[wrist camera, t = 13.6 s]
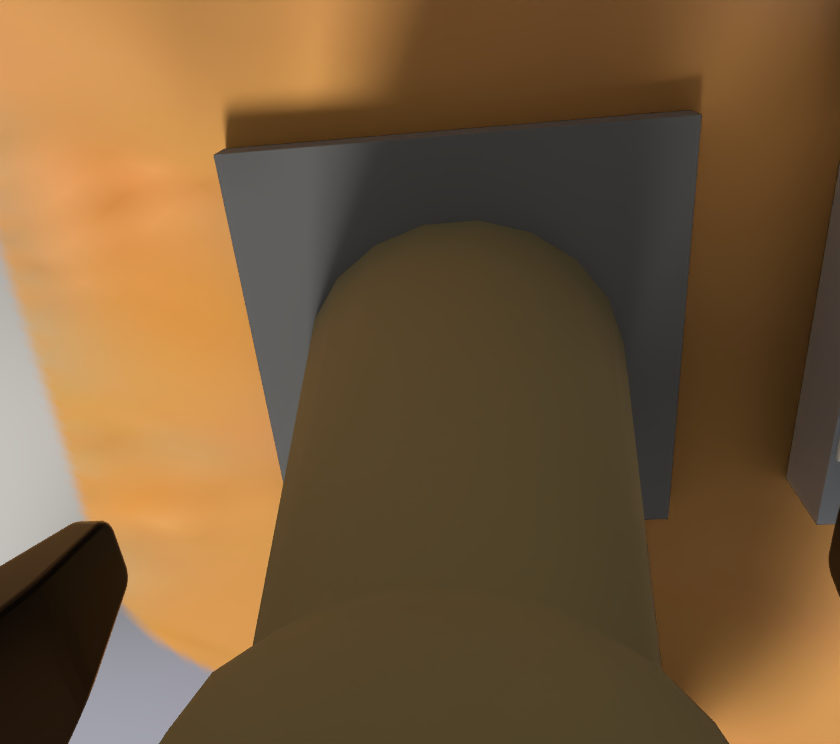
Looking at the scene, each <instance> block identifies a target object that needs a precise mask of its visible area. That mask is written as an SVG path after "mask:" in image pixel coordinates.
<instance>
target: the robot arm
mask: <svg viewBox="0 0 840 744" xmlns="http://www.w3.org/2000/svg"><path fill="white" fill-rule="evenodd" d="M829 568H830V572H831V576H832V578H833V581H834V584H835V586H836V589H837V591H838V594H839V596H840V507H839V510H838V514H837V518H836V523H835V528H834V532H833V537H832V542H831V547H830V551H829ZM127 581H128V574H127V568H126V565H125V562H124V559H123V556H122V554H121V551H120V548H119V545H118V542H117V539H116V537H115V534H114V531H113V529H112V527H111V526H110V525H109V524H108V523H107V522H104V521H80V522H75V523H72V524H70V525H69V526H67V527H65V528H64V529H62V530H60V531H59V532H57V533H55V534H53V535H52V536H50V537H48V538H47V539H45V540H44V541H42V542H40V543H38V544H37V545H35V546H33V547H32V548H30V549H28V550H27V551H25V552H23V553H22V554H20V555H18V556H17V557H15V558H13V559H12V560H10V561H8V562H6V563H5V564H3V565H1V566H0V744H68V742H69V740H70V738H71V736H72V734H73V732H74V730H75V728H76V725H77V723H78V721H79V719H80V716H81V714H82V711H83V709H84V707H85V705H86V702H87V700H88V698H89V695H90V692H91V690H92V687H93V685H94V682H95V678H96V676H97V673H98V670H99V667H100V664H101V661H102V659H103V656H104V652H105V650H106V647H107V644H108V641H109V638H110V635H111V632H112V629H113V626H114V623H115V620H116V617H117V614H118V611H119V609H120V606H121V603H122V600H123V597H124V594H125V591H126V587H127Z"/></svg>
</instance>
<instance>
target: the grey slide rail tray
mask: <svg viewBox="0 0 840 744" xmlns="http://www.w3.org/2000/svg"><path fill="white" fill-rule="evenodd" d="M786 479H787V481H788V482H789V484H790V485H791V487H792V488H793V490H794V491H795V493H796V494H797V496H798V497H799V499H800V501H801V502H802V504H803V505H804V507H805V508H806V510H807V511H808V513H809V514H810V516H811V517H812V519H813V520H814V522H815V523H816V525H821V524H835V523H836V518H837V514H838V510H839V507H840V164H839V170H838V176H837V182H836V188H835V194H834V199H833V205H832V211H831V217H830V223H829V229H828V235H827V241H826V246H825V252H824V258H823V264H822V270H821V276H820V282H819V287H818V293H817V299H816V305H815V311H814V317H813V323H812V328H811V334H810V340H809V346H808V352H807V358H806V364H805V369H804V375H803V381H802V387H801V393H800V399H799V405H798V411H797V416H796V422H795V428H794V434H793V440H792V446H791V452H790V457H789V463H788V469H787V475H786Z"/></svg>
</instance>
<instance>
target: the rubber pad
mask: <svg viewBox="0 0 840 744" xmlns="http://www.w3.org/2000/svg"><path fill="white" fill-rule="evenodd" d="M701 117H702V115H701V114H699V113H697V112H695V111H693V110H685V111H673V112H661V113H649V114H637V115H625V116H613V117H601V118H589V119H577V120H565V121H553V122H540V123H528V124H516V125H504V126H492V127H480V128H468V129H456V130H444V131H432V132H420V133H408V134H396V135H384V136H372V137H360V138H347V139H335V140H323V141H311V142H299V143H287V144H275V145H263V146H251V147H239V148H227V149H223V150H221V151H220V152H218V153H216V154H214V159H215V164H216V168H217V173H218V178H219V183H220V187H221V192H222V197H223V201H224V206H225V211H226V215H227V220H228V225H229V230H230V234H231V239H232V244H233V248H234V253H235V258H236V262H237V267H238V272H239V277H240V281H241V286H242V291H243V295H244V300H245V305H246V309H247V314H248V319H249V324H250V328H251V333H252V338H253V342H254V347H255V352H256V356H257V361H258V366H259V371H260V375H261V380H262V385H263V389H264V394H265V399H266V403H267V408H268V413H269V417H270V422H271V427H272V432H273V436H274V441H275V446H276V450H277V455H278V460H279V464H280V469H281V474H282V479H283V483H284V478H285V473H286V468H287V462H288V457H289V452H290V447H291V441H292V436H293V431H294V425H295V420H296V415H297V410H298V404H299V399H300V394H301V389H302V383H303V378H304V373H305V368H306V362H307V357H308V352H309V347H310V341H311V336H312V331H313V325H314V320H315V318H316V316H317V314H318V312H319V311H320V309H321V307H322V305H323V303H324V302H325V300H326V298H327V296H328V294H329V293H330V291H331V289H332V287H333V285H334V284H335V282H336V280H337V278H338V277H340V276H341V275H342V274H343V273H344V272H345V271H346V270H347V269H349V268H350V267H351V266H352V265H353V264H354V263H355V262H357V261H358V260H359V259H360V258H361V257H362V256H363V255H365V254H366V253H367V252H368V251H369V250H370V249H371V248H373V247H374V246H375V245H377V244H379V243H382V242H384V241H386V240H389V239H391V238H394V237H396V236H398V235H401V234H403V233H406V232H408V231H410V230H413V229H415V228H418V227H420V226H422V225H429V224H441V223H453V222H465V221H477V220H479V221H483V222H488V223H492V224H496V225H500V226H505V227H509V228H513V229H518V230H522V231H526V232H531V233H533V234H535V235H536V236H538V237H539V238H541V239H543V240H544V241H546V242H548V243H549V244H551V245H553V246H554V247H556V248H558V249H559V250H561V251H562V252H564V253H566V254H567V255H569V256H571V257H572V258H574V259H576V260H577V261H578V262H579V263H580V265H581V266H582V267H583V268H584V270H585V271H586V272H587V273H588V274H589V276H590V277H591V278H592V279H593V281H594V282H595V283H596V284H597V285H598V287H599V288H600V289H601V290H602V291H603V293H604V294H605V295H606V296H607V298H608V299H609V302H610V304H611V307H612V310H613V313H614V316H615V319H616V322H617V325H618V328H619V330H620V333H621V336H622V339H623V342H624V348H625V356H626V365H627V374H628V382H629V391H630V399H631V408H632V417H633V425H634V434H635V442H636V451H637V460H638V468H639V477H640V485H641V494H642V503H643V511H644V520H648V519H668V513H669V501H670V489H671V477H672V465H673V453H674V441H675V429H676V417H677V405H678V393H679V381H680V369H681V357H682V345H683V333H684V321H685V309H686V297H687V285H688V273H689V261H690V249H691V237H692V225H693V213H694V201H695V189H696V177H697V165H698V153H699V141H700V129H701Z"/></svg>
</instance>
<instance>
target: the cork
mask: <svg viewBox="0 0 840 744" xmlns="http://www.w3.org/2000/svg"><path fill="white" fill-rule="evenodd" d="M159 744H729V743H728V741H727V740H726V738H725V737H724V735H723V734H722V732H721V731H720V729H719V728H718V726H717V725H716V723H715V722H714V721H713V720H712V719H711V718H710V717H709V716H708V715H707V714H706V713H705V712H704V711H703V710H702V709H701V708H700V707H699V706H698V705H697V704H696V703H695V702H694V701H693V700H692V699H691V698H690V697H689V696H688V695H687V694H686V693H685V692H684V691H683V690H682V689H681V688H680V687H679V686H678V685H677V684H676V683H675V682H674V681H673V680H672V679H671V678H670V677H669V676H668V675H667V674H666V673H665V672H664V671H663V670H662V666H661V658H660V649H659V641H658V632H657V623H656V615H655V606H654V597H653V589H652V580H651V572H650V563H649V554H648V546H647V537H646V529H645V520H644V511H643V503H642V494H641V485H640V477H639V468H638V460H637V451H636V442H635V434H634V425H633V417H632V408H631V399H630V391H629V382H628V374H627V365H626V356H625V348H624V342H623V339H622V336H621V333H620V330H619V328H618V325H617V322H616V319H615V316H614V313H613V310H612V307H611V304H610V302H609V299H608V298H607V296H606V295H605V294H604V293H603V291H602V290H601V289H600V288H599V287H598V285H597V284H596V283H595V282H594V281H593V279H592V278H591V277H590V276H589V274H588V273H587V272H586V271H585V270H584V268H583V267H582V266H581V265H580V263H579V262H578V261H577V260H576V259H574V258H572V257H571V256H569V255H567V254H566V253H564V252H562V251H561V250H559V249H558V248H556V247H554V246H553V245H551V244H549V243H548V242H546V241H544V240H543V239H541V238H539V237H538V236H536V235H535V234H533V233H531V232H526V231H522V230H518V229H513V228H509V227H505V226H500V225H496V224H492V223H488V222H483V221H479V220H477V221H465V222H453V223H441V224H429V225H422V226H420V227H418V228H415V229H413V230H410V231H408V232H406V233H403V234H401V235H398V236H396V237H394V238H391V239H389V240H386V241H384V242H382V243H379V244H377V245H375V246H374V247H373V248H371V249H370V250H369V251H368V252H367V253H366V254H365V255H363V256H362V257H361V258H360V259H359V260H358V261H357V262H355V263H354V264H353V265H352V266H351V267H350V268H349V269H347V270H346V271H345V272H344V273H343V274H342V275H341V276H340V277H338V278H337V280H336V282H335V284H334V285H333V287H332V289H331V291H330V293H329V294H328V296H327V298H326V300H325V302H324V303H323V305H322V307H321V309H320V311H319V312H318V314H317V316H316V318H315V320H314V325H313V331H312V336H311V341H310V347H309V352H308V357H307V362H306V368H305V373H304V378H303V383H302V389H301V394H300V399H299V404H298V410H297V415H296V420H295V425H294V431H293V436H292V441H291V447H290V452H289V457H288V462H287V468H286V473H285V478H284V483H283V489H282V494H281V499H280V504H279V510H278V515H277V520H276V525H275V531H274V536H273V541H272V547H271V552H270V557H269V562H268V568H267V573H266V578H265V583H264V589H263V594H262V599H261V604H260V610H259V615H258V620H257V625H256V631H255V636H254V641H253V646H252V647H250V648H249V649H247V650H246V651H244V652H243V653H241V654H240V655H238V656H237V657H235V658H234V659H232V660H231V661H229V662H228V663H226V664H225V665H223V666H222V667H220V668H219V669H217V670H215V671H214V672H212V674H211V675H210V676H209V678H208V679H207V680H206V681H205V683H204V684H203V685H202V687H201V688H200V689H199V691H198V692H197V693H196V694H195V696H194V697H193V698H192V700H191V701H190V702H189V704H188V705H187V706H186V708H185V709H184V710H183V712H182V713H181V714H180V715H179V717H178V718H177V719H176V720H175V722H174V723H173V725H172V726H171V727H170V728H169V730H168V731H167V732H166V734H165V735H164V737H163V739H162V740H161V742H160V743H159Z"/></svg>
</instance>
